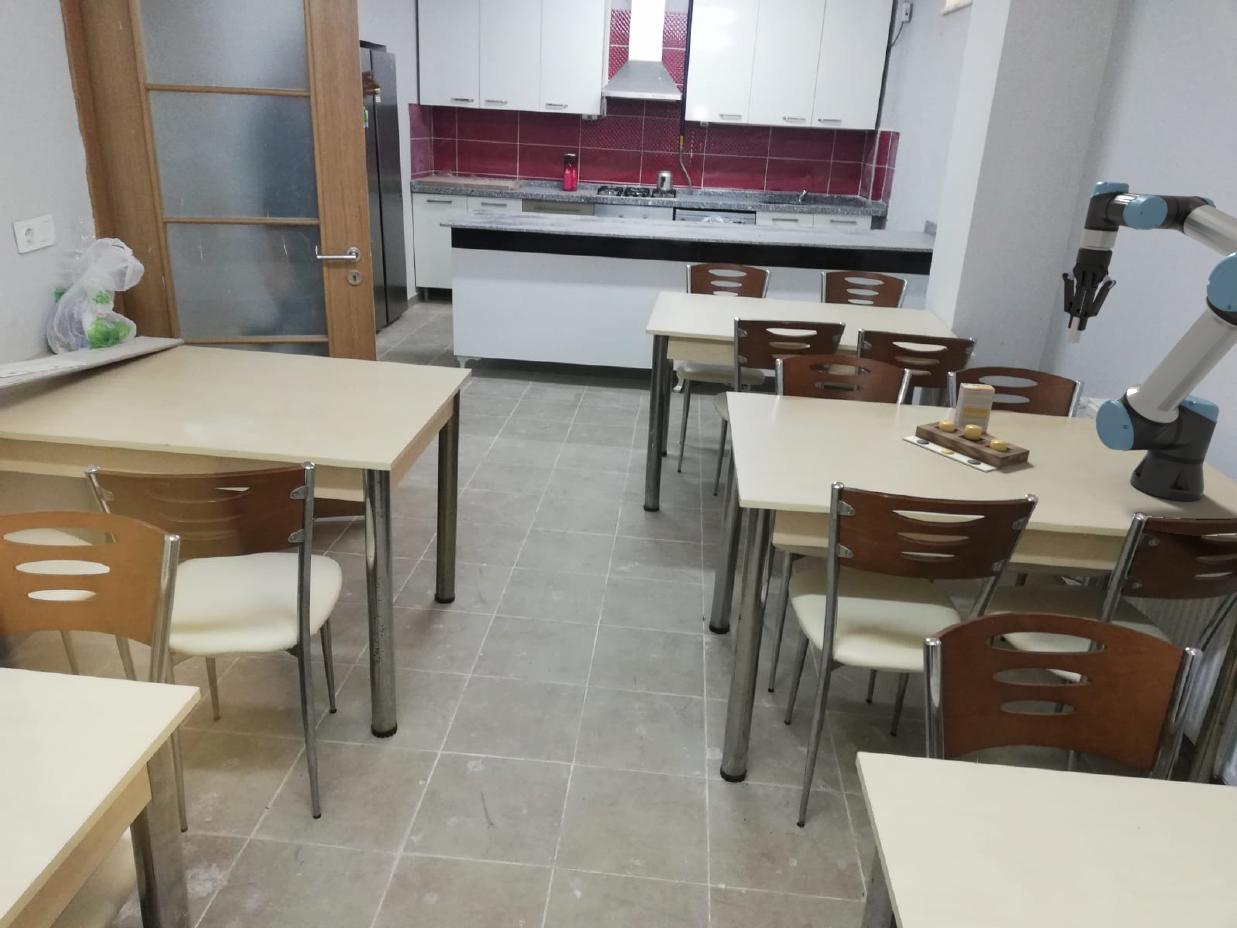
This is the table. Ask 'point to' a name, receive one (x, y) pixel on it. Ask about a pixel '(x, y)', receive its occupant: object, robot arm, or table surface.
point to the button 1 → (947, 426)
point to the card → (950, 453)
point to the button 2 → (998, 445)
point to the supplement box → (974, 405)
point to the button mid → (972, 432)
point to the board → (972, 445)
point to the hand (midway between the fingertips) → (1073, 342)
